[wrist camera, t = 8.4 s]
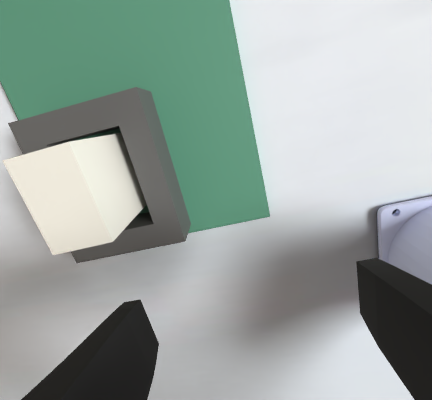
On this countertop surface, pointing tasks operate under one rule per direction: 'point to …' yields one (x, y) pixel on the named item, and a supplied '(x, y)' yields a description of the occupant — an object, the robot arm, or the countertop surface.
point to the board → (140, 104)
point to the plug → (79, 191)
